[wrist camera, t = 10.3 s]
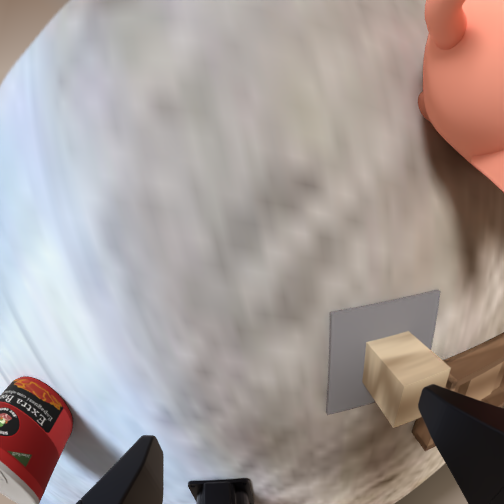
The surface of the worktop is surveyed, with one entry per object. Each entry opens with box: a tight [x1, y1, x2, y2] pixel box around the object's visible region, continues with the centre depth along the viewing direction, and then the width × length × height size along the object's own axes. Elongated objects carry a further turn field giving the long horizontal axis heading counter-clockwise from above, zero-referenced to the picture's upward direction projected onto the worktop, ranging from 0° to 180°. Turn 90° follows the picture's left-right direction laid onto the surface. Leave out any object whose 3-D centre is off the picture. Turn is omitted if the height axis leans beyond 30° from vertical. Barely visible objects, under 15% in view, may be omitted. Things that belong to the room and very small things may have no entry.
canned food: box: [0, 377, 73, 504], centre depth 15 cm, size 8×8×11 cm
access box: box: [412, 333, 504, 451], centre depth 23 cm, size 10×16×4 cm, turn 95°
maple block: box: [362, 331, 451, 428], centre depth 18 cm, size 4×4×6 cm
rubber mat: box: [326, 290, 440, 415], centre depth 22 cm, size 10×10×1 cm
